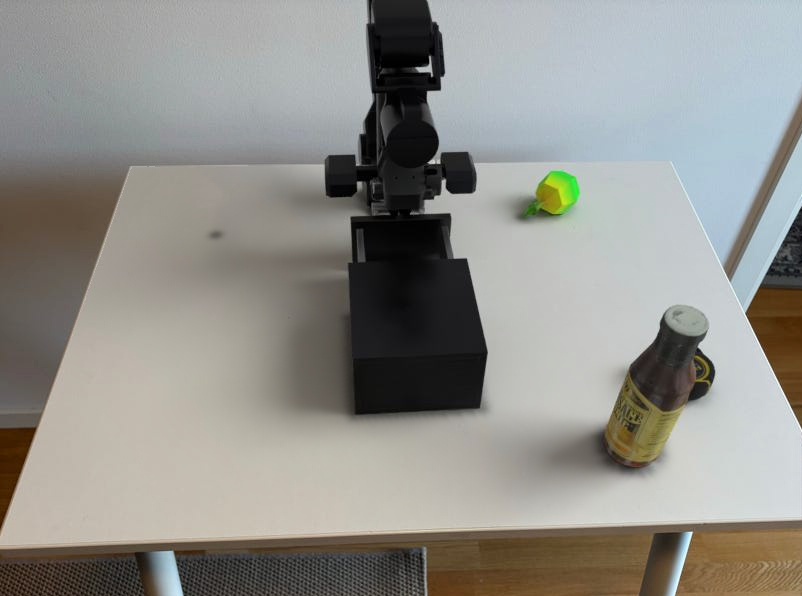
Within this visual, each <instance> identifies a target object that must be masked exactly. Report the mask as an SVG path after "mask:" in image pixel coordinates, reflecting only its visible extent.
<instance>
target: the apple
mask: <svg viewBox="0 0 802 596" xmlns="http://www.w3.org/2000/svg"><path fill="white" fill-rule="evenodd" d="M580 194H581V190H580V187H579V183H578V179H577V176H574V175H572V174H570V173H568V172H565V171H563V170H550V171H549V173H548V174H546V175H545V176H544V178H542V180H541V181H540V182H539V183H538V184H537V187H536V190H535V196H536V199H537V202H532V203H531V204H529V205H528V207H527V209H526V210H525V212H524V214H523V216H522V217H523V218H524V217H525V218H526V217H529V216H535V214H537V213H538V212H539V211H540V209H542V210H544V211H545V212H547V213H550V214H552V215H564V214H565V213H567V211H568V210H569V209H571V208H572V207H573V206H575V204H576V203H577V202H578V200H579V197H580Z"/></svg>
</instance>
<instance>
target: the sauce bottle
mask: <svg viewBox="0 0 802 596" xmlns="http://www.w3.org/2000/svg"><path fill="white" fill-rule="evenodd" d="M709 328H710V322H709V320H708V317H707V316H706V315H705V313H704V312H702V311H701V310H700V309H698V308H695V307H693V306H691V305H687V304H675V305H671V306H669V307H668V308H667V309H666V310H665V311H664V312H663V314H662V316H661V318H660V321H659V329H658V332H657V333H656V336H655V338H654V340H653V341H652V342H651V344H649V345H648V346H647V347H646V348H645V350H643V351H642V352H641V353H640V355H639V356H637V358H636V359H635V360H633V362H631V363H630V365H629V367H628V370H627V372H626V374H625V376H624V381H623V382H622V385H621V387H620V390H619V392H618V396H617V398H616V401H615V403H614V406H613V408H612V411H611V414H610V416H609V418H608V421H607V424H606V427H605V434H604V439H603V441H604V447H605V450H606V451H607V452H608V454H609V455H610V456H611V458H613V460H614V461H616V462H617V463H618V464H621V465H622V466H628V467H631V468H643V467H647V466H648V465H651V464H652V463H653V462H655V461H656V460H657V459H658V458H659V457H660V455H661V453H662V452H663V449H664V448H665V446H666V444H667V442H668V440H669V438H670V436H671V434H672V432H673V430H674V428H675V426H676V424H677V422H678V420H679V418H680V416H681V414H682V412H683V410H684V408H685V406H686V404H687V402H688V401H687V400H688V396H689V394H690V391H691V390H692V388H693V386H694V383H695V379H696V368H695V365H694V359H693V358H694V356H695V351H696V349H697V347H698V348H699V345H700V344H701V342H703V341H704V339H705V338H706V336H707V333H708V331H709V330H710V329H709Z"/></svg>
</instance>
